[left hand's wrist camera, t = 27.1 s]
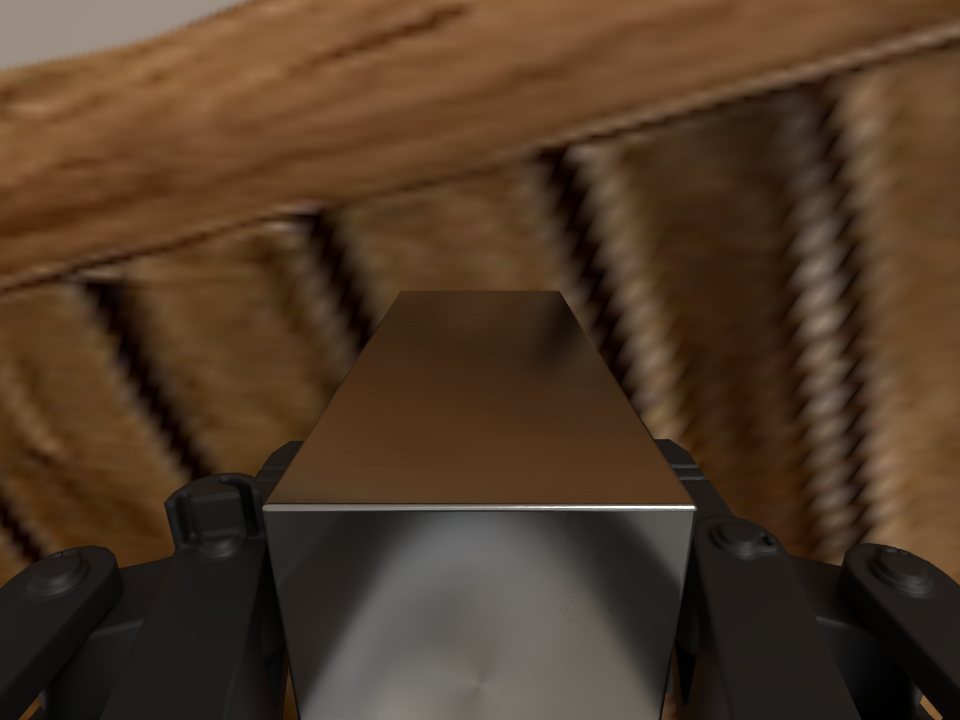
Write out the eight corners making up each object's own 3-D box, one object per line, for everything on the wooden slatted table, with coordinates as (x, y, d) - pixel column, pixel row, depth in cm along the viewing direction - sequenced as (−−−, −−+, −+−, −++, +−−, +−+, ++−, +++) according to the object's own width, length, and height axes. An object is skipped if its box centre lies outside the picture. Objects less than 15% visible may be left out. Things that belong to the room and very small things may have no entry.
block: (559, 290, 15) (699, 506, 5) (551, 446, 17) (646, 818, 7) (400, 290, 15) (259, 506, 5) (408, 446, 17) (313, 818, 7)
